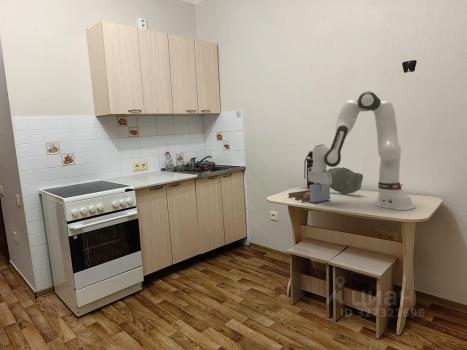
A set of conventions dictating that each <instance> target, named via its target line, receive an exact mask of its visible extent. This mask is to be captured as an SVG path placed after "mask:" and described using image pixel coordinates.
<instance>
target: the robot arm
mask: <svg viewBox="0 0 467 350" xmlns="http://www.w3.org/2000/svg"><path fill="white" fill-rule="evenodd" d="M370 111H371V112H373V114H374V118H375V119H374V121H375V127H376V137H377V151H378V152H377V153H378V156H379V158H380V162H379V172H378V173H379V177H378V180H379V181H378V186H377V187H378V192H377V194H378V195H377V198H376V203H375V205H376V207H379V208H384V209H390V210H396V211H410V210H413V209H416V208H417V206H416V204H412V198H411V196H410V195H409V194H408V193H407V192H405V190H404V189H402V187H403V185H404V184H401V182H400V166H401V154H402V153H401V149H402V148H401V145H400V144H399V139H398V138H399V137H398V128H397V126H398V125H397V118H396V112H395V109H394V105H393V103H392V102H391V101H390V100H381V98H379V96H378V95H376V94H375V93H374V92H373V91H364V92H362V93H361V94H360V95H359V96H358V99H357V100H356V99H355V100H354V99H348V100H346V101H344V103H343V105H342V106H341V109H340V111H339V113H338V115H337V120H336V126H335V135H334V138H333V141H332V144H331V147H328V146H327V145H325V144H318V145H315V146H314V147H313V148H312V151H313V167H310V168H308V171H309V172H308V180H309V181H310V182H314V184H318V183H320V184H321V185H322V187H321V190H322V191H323V190H324V187H325V185H331V184H332V177H331V173H330V172H329V171H328V170H329V169H328V170H327V166H328V167H330V168H336V167H337V166H338V165H340V163H341V159H342V153H341V152H342V148H343V146H344V143H345V140H346V138H347V136H348V135H349V134H350V132H351V131H352V129H353V128H354V126H355V124H356V122H357V119H358V117H359V114H360V113H361V112H370Z"/></svg>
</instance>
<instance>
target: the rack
mask: <svg viewBox="0 0 467 350" xmlns="http://www.w3.org/2000/svg"><path fill="white" fill-rule="evenodd" d="M308 192H310V189H306V190H299V191H294V192H288V199H293V198H292V197H294V198H295V199H294V200H295V201H299V200H301V203H306V202H309V201H310V197H306V198H302V195H305V193H308Z"/></svg>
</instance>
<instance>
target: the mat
mask: <svg viewBox="0 0 467 350" xmlns="http://www.w3.org/2000/svg"><path fill="white" fill-rule="evenodd" d="M308 202H309V203H311V204H314V205H315V204H316V205H317V204H323V203H329V202H331V199H330V200H324V201H319V202H310V201H308Z"/></svg>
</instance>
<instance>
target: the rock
mask: <svg viewBox="0 0 467 350" xmlns="http://www.w3.org/2000/svg"><path fill="white" fill-rule="evenodd" d="M328 171H329V172H330V173H331V177H332V184H331V185H330V189H332V190H333V191H334V192H338V193H340V194H342V195H349V194H353V193H356V192H358V191H359V190H360V189H362V183H363V179H364V175H363V174H362V173H359V172H355V171H353V170H351V169H350V168H346V167H344V166H342V167H330V168H329V169H328Z"/></svg>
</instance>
